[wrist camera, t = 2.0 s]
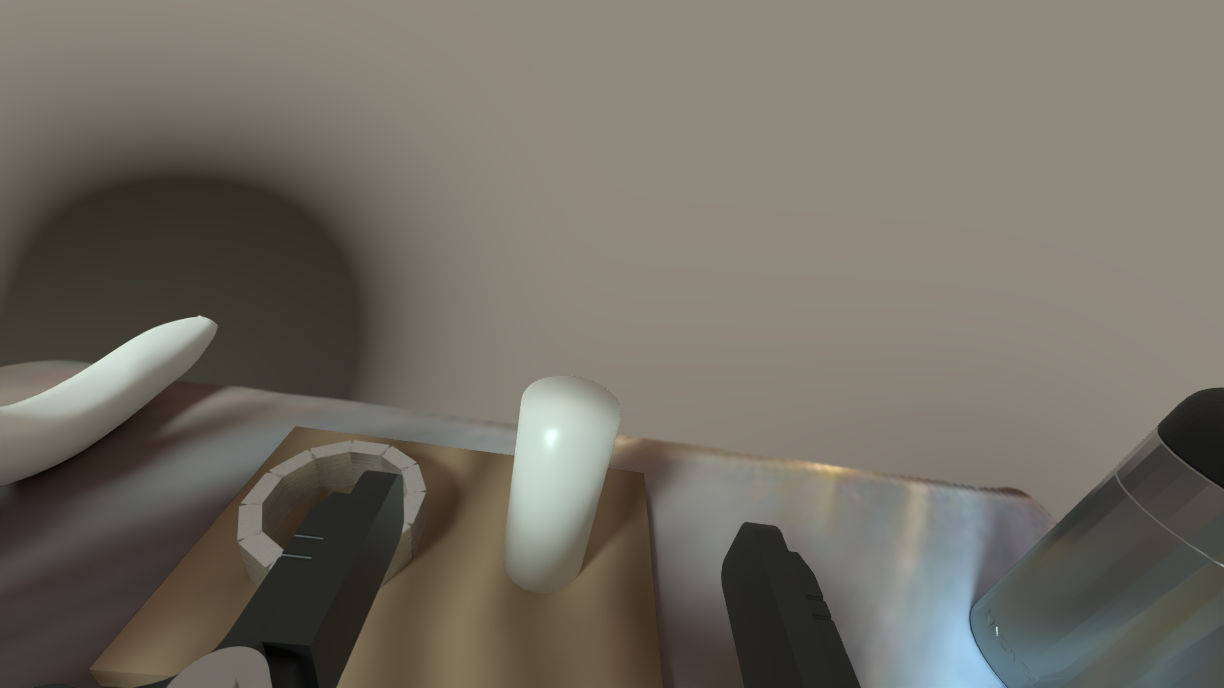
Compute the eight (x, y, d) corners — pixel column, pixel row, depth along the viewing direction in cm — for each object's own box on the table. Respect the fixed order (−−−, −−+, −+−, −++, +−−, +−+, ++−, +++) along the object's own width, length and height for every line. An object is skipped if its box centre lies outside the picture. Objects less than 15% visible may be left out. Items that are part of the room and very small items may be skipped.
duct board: (639, 486, 38) (643, 473, 37) (658, 727, 24) (665, 714, 23) (298, 441, 35) (295, 426, 34) (100, 686, 21) (88, 669, 21)
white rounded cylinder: (584, 525, 32) (620, 383, 26) (581, 597, 28) (622, 447, 22) (510, 516, 31) (529, 369, 25) (494, 588, 27) (513, 431, 21)
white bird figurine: (234, 372, 40) (189, 200, 33) (-58, 582, 24) (-280, 330, 16) (175, 360, 40) (118, 184, 32) (-159, 563, 23) (-430, 300, 16)
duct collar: (442, 483, 33) (442, 451, 31) (391, 615, 25) (389, 581, 23) (305, 466, 32) (298, 432, 30) (207, 597, 24) (192, 561, 22)
